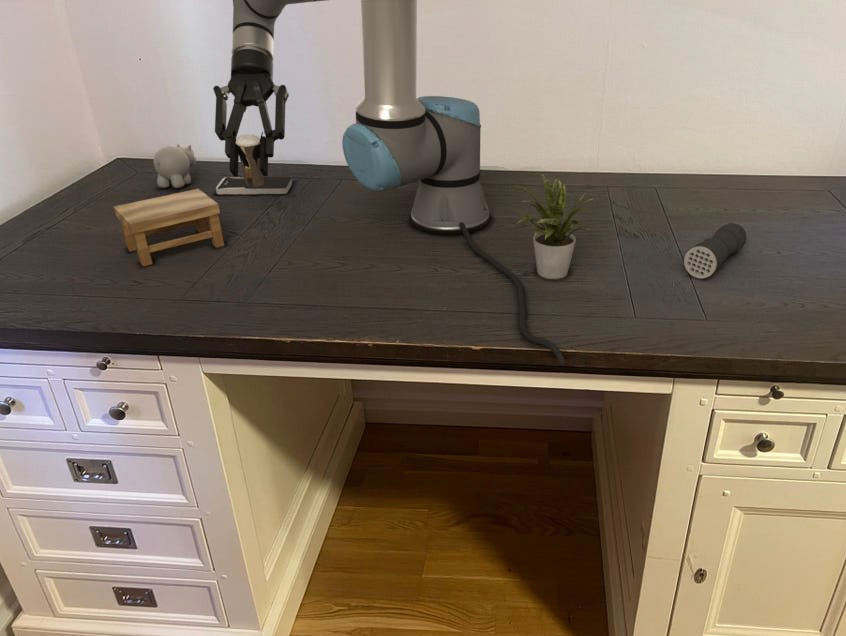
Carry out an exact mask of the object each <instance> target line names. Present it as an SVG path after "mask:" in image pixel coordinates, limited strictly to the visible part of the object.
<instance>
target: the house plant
mask: <svg viewBox="0 0 846 636" xmlns="http://www.w3.org/2000/svg"><path fill="white" fill-rule="evenodd" d="M540 175H541V178H542V181H543V185H544V192H545V193H544V194H545V197H546V198H545V199H546V200H547V205H548V206H547V205H546V206H545V207H544V206H542V205H541V204H540V203H539V201H538V199H537V198H536V196H535V195H534V194H533V193H532V192H531V191H530V190H529V189H527V188H526V187H523V186H521V185H517V184H516V185H515V184H512V186H513V187H518V188H521V189H520V191H522V192H525V193H528V194H529V195H530V196H531V197H532V198H533V200H534V201H532V200H529V199H528V200H527V199H526V200H522V201H521V203H524V202H525V203H526V202H530V203H529V204H527V206H533V207H534V208H535V209H536V211H538V213H539V215H540V216H541V219H539V220H538V219H537V218H535V217H530V216H529V215H528V214H527V213H526V212H523V211H520V210H513V211H514V212H517V213H520V214H522V215H524V217H522V218H520V219H519V220H518V222H517V223H516V225H518V224H520V223H524V222H528V221H530V222H531V224H533V225H531V226H530V227H531V228H533V227H536V228H534V235H533V237H532V240H533V248H534V249H533V250H534V257H535V265H536V273H537V274H538V276H540V277H541V278H544V279H548V280H559V279H563V278H565V277H566V276H568V273H569V269H570V266H571V261H572V257H573V253H574V250H575V245H576V241H577V238H576V236H575V235H574V234H572V233H574V232H577V231H579V230H581V229H586V230H587V231H590V229H589V228H588V227H587V226H581V225H582V224H581V223H580V222H579V221H577V220H572V218H573V217H574V216H575V215H577V214H578V213H579V212H581V211H585V209H583V208H580V206H578V207H577V208H576V206H577V205H578V204H579V203H580V202H581V201H582V200H583V198H584V196H585V195H586V193H587V192H584V193H583V194H582V195H581V197H579V199H578V200H577V202H575V204H574V205H573V207H572V208H571V209H570V211H569V212H568V214H567V216H566V217H565V219H564V221H562V219H563V217H564V212H565V206H566V202H567V190H566V189H567V188H566V185H565V183H566V182H567V180H565V181H563V182H561V180H560V179H559V178H558V177H556V178H555V179H554V181H553V184H552V188H551V185H550V181H549V179H548V178H547V177H546V176H545V174H544V173H542V172H540ZM557 189H558V191H557ZM557 192H558V194H557ZM593 200H595V198H590V199H587V200H586V201H584V202H583V203H582V205H584V204H586V203H587V202H590V201H593ZM531 202H532V203H531ZM534 221H535V222H534ZM562 222H563V223H562ZM536 223H538V224H540V225H537V224H536ZM543 224H544V225H545V226H544V225H543ZM575 225H580V226H581V227H579V228H576V229H574V230H571V229H572V228H573V227H575ZM569 230H571V231H570V232H568V231H569Z"/></svg>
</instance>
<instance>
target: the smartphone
mask: <svg viewBox="0 0 846 636" xmlns="http://www.w3.org/2000/svg"><path fill="white" fill-rule="evenodd" d="M263 177H264V184H263V185H261V186H258V187H249V186H247V185H246V183H245V179H244V176H238V177H234V176H226V177H223V178H222V179H221V180H220V181H219V183H218V184H217V185H216V186H215V191H216V194H217V195H285V194H288V193H289V191H290V188H291V187H292V185H293V178H292V176H263Z"/></svg>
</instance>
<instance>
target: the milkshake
mask: <svg viewBox="0 0 846 636" xmlns="http://www.w3.org/2000/svg"><path fill="white" fill-rule="evenodd" d="M263 134H264V131H262V132H261V135H260V137H259V136H258V135H255V134H253V133H251V134H240V135H239V136H237V137H236V146H237V150H238V153H239V161H240V166H241V169H242V174H243V177H244V179H245V183H246V185H247V186H249V187H258V186H261V185H263V184H264V177H265V176H263V174H262V172H261V171H260V140H261V138H262V136H264V135H263Z"/></svg>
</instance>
